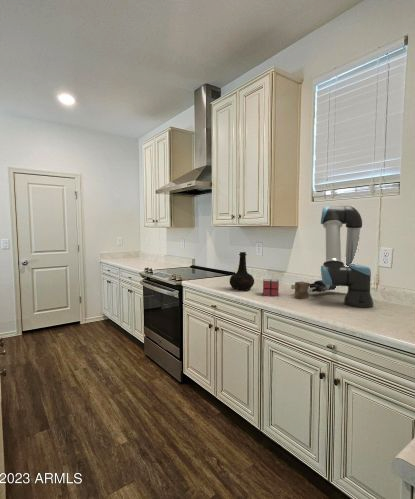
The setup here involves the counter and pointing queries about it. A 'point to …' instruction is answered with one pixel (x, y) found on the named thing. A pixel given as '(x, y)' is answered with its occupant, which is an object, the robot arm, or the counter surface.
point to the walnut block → (301, 290)
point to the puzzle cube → (270, 287)
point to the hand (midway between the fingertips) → (299, 288)
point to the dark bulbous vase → (242, 276)
